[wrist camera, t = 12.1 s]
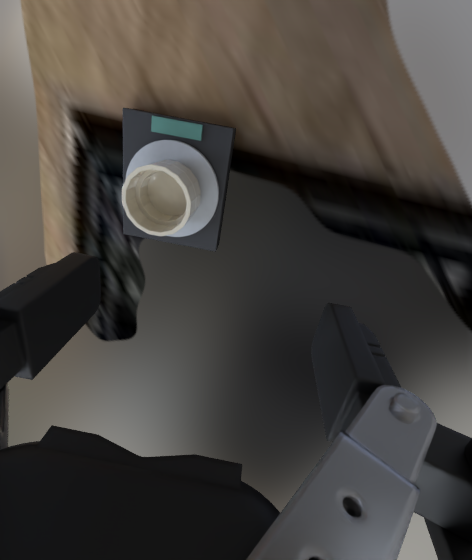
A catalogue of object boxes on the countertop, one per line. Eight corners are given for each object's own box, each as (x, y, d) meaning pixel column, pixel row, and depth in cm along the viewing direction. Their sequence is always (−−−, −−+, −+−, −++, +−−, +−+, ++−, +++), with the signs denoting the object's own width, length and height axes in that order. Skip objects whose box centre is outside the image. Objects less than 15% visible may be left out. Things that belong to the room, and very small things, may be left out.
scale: (132, 108, 32) (119, 107, 29) (236, 128, 32) (233, 128, 29) (131, 227, 38) (121, 235, 35) (218, 244, 38) (214, 253, 35)
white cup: (142, 154, 31) (121, 158, 26) (204, 165, 31) (193, 172, 26) (141, 215, 34) (121, 229, 29) (198, 226, 34) (187, 241, 29)
